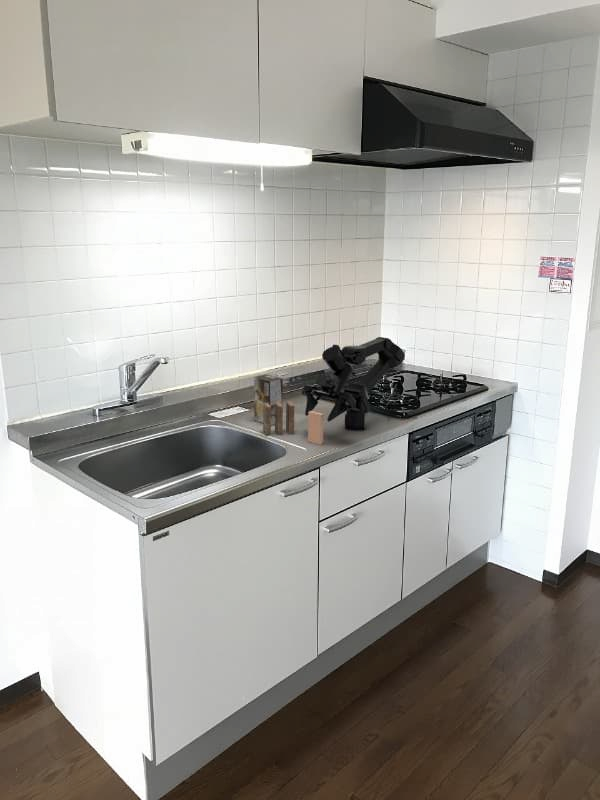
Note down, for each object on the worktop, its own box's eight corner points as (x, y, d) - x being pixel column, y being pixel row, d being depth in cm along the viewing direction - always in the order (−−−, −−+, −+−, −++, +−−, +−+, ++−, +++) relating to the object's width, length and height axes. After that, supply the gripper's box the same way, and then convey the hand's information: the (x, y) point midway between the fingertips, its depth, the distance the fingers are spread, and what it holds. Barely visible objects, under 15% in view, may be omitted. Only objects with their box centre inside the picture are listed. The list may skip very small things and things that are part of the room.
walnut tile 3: (279, 430, 225) (279, 402, 223) (282, 434, 221) (282, 406, 218) (274, 430, 225) (274, 402, 222) (277, 435, 220) (278, 406, 218)
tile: (311, 440, 216) (311, 410, 213) (322, 443, 212) (323, 413, 210) (307, 441, 214) (308, 411, 212) (319, 444, 211) (320, 414, 209)
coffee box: (283, 422, 234) (284, 378, 230) (270, 426, 230) (270, 381, 226) (266, 416, 241) (266, 373, 236) (253, 420, 236) (252, 376, 232)
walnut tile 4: (267, 431, 224) (267, 402, 222) (270, 435, 220) (270, 406, 217) (263, 431, 224) (263, 403, 221) (266, 435, 219) (266, 406, 217)
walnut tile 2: (290, 429, 226) (290, 401, 224) (294, 434, 222) (294, 405, 219) (285, 429, 226) (286, 401, 223) (289, 434, 221) (289, 405, 219)
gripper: (306, 360, 217) (283, 398, 212) (352, 368, 205) (329, 409, 200) (320, 379, 225) (299, 417, 220) (365, 389, 213) (344, 429, 208)
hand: (316, 418), depth 212 cm, fingers open, 9 cm apart
